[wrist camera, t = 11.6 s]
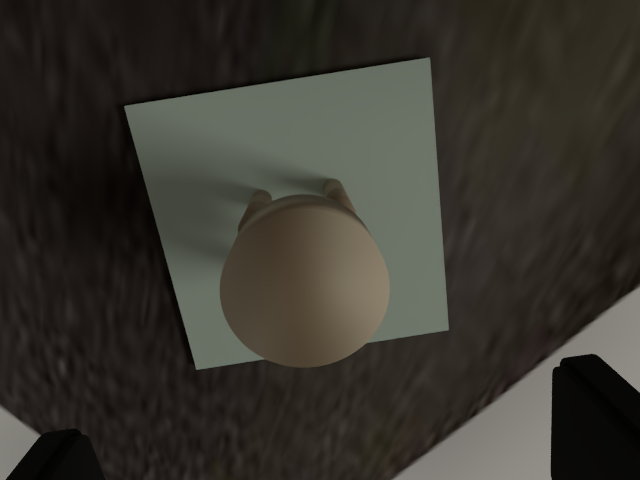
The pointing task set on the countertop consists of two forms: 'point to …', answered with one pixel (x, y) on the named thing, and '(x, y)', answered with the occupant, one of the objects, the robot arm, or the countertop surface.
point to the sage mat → (297, 184)
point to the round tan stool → (304, 279)
